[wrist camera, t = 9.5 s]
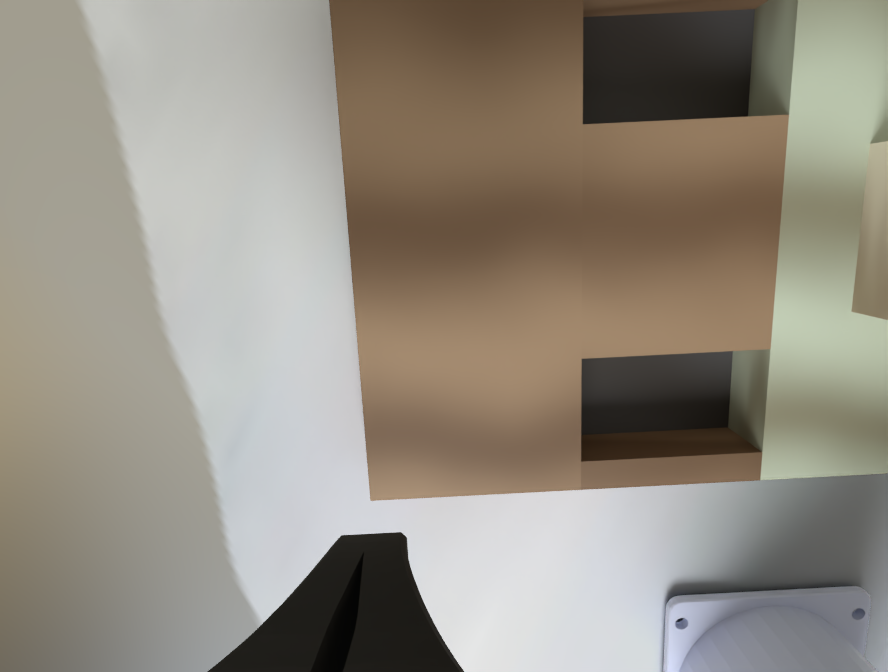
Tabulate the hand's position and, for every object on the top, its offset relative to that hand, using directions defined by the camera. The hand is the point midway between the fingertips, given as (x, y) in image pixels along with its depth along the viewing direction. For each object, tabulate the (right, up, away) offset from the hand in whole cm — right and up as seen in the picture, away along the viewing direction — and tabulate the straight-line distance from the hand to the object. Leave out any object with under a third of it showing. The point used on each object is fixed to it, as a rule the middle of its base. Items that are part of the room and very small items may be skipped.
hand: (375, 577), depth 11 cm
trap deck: (+9, +8, +8) cm, 14 cm away
